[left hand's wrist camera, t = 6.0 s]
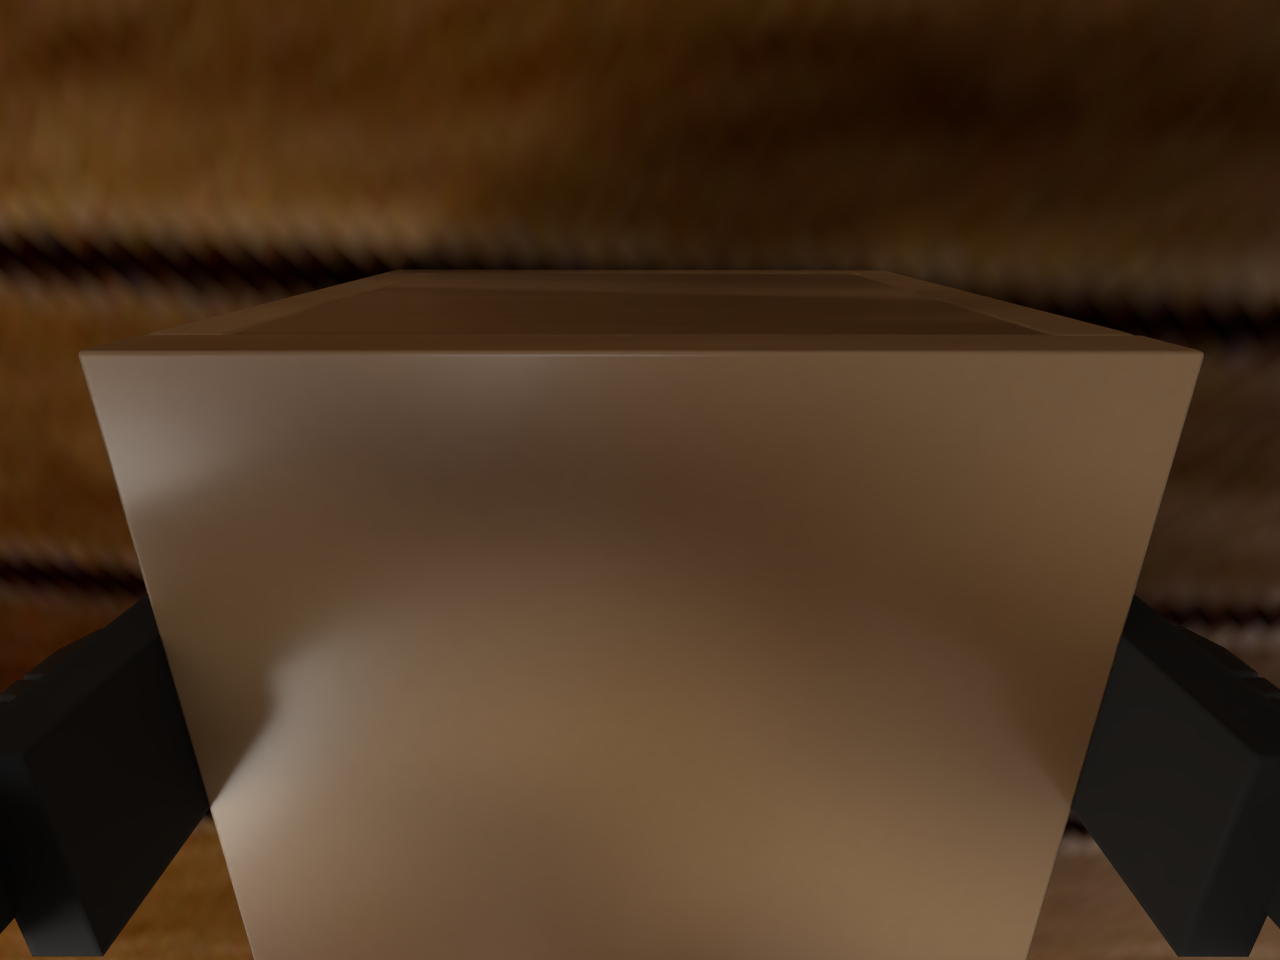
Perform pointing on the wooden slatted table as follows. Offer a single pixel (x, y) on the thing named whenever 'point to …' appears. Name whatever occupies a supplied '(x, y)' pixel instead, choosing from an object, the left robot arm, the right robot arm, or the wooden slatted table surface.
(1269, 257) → the wooden slatted table surface
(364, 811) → the cabinet
